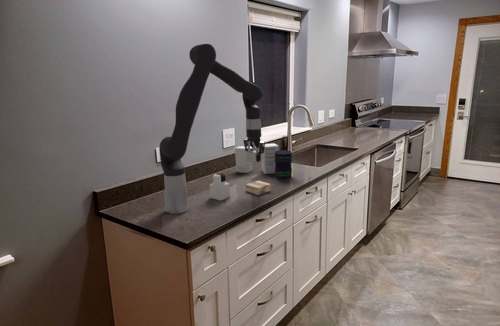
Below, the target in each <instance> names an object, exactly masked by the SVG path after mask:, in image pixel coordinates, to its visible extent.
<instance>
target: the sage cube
mask: <svg viewBox="0 0 500 326" xmlns="http://www.w3.org/2000/svg"><path fill="white" fill-rule="evenodd" d="M258 152H259V151H258ZM247 153H248V162H251V163H252V164H257V163H258V162H257V161H256V155H257V154H256V151H255V150H254V149H253V151H250V152H247ZM261 161H262V155H261V160H260V162H261ZM260 162H259V163H260Z"/></svg>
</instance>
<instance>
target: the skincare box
mask: <svg viewBox="0 0 500 326" xmlns="http://www.w3.org/2000/svg"><path fill="white" fill-rule="evenodd" d="M247 149H248V146H247ZM250 150H251V149H250ZM234 154H235V155H234V156H235V169H236V170H235V171H236V173H242V174H249V173H250V172H253V163H251V162H248V153H247V151H245V146H242V145H239V146H236V147H234Z"/></svg>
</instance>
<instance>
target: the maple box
mask: <svg viewBox="0 0 500 326" xmlns="http://www.w3.org/2000/svg"><path fill="white" fill-rule="evenodd" d="M245 191H246V192H248V193H250V194H254V195H256V196H260V195H262V194H265V193H268V192H271V191H272V185H271V183H268V182H266V181H265V182H264V181H261V180H256V181H252V182H250V183H246V184H245Z"/></svg>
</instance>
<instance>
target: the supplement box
mask: <svg viewBox="0 0 500 326" xmlns="http://www.w3.org/2000/svg"><path fill="white" fill-rule="evenodd" d="M261 151H262V150H261ZM276 151H280V145H278V144H276V143H265V148H264V153H262V154H261V155H262V161H261V172H262V173H264V175H269V174H271V175H272V174H275V152H276Z"/></svg>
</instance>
